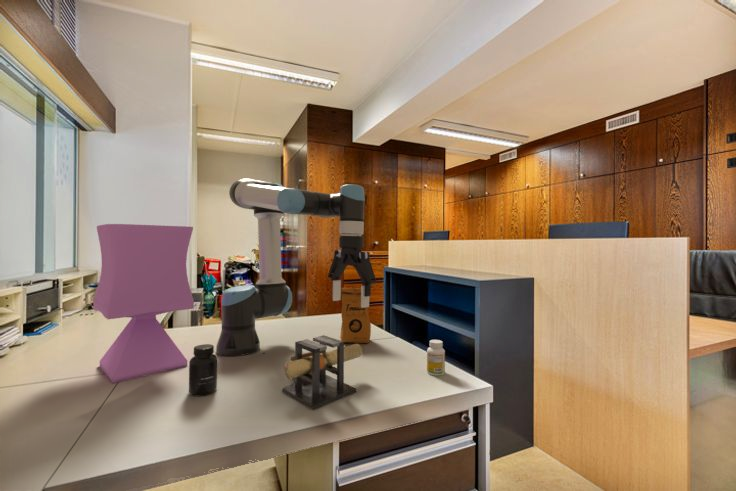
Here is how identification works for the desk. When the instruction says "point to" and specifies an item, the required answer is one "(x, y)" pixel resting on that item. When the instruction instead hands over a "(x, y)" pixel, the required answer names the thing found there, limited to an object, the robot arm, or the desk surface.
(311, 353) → the block
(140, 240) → the pink table lamp
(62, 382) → the desk surface
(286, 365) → the air tube
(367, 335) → the coffee package
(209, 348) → the supplement bottle
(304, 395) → the collar stand
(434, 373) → the supplement bottle
